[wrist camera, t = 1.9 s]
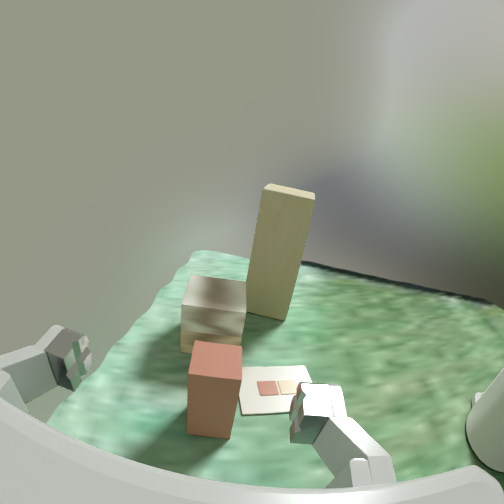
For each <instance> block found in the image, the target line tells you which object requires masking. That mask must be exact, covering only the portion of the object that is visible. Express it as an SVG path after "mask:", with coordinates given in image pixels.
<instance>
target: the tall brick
mask: <svg viewBox="0 0 504 504" xmlns="http://www.w3.org/2000/svg"><path fill="white" fill-rule="evenodd" d="M241 382H242V346H236V345H227V344H219V343H211V342H204V341H197V340H195V342H194V347H193V352H192V357H191V362H190V367H189V372H188V404H187V434H191V435H198V436H206V437H215V438H224V439H230V435H231V430H232V426H233V421H234V416H235V411H236V407H237V402H238V397H239V392H240V387H241Z"/></svg>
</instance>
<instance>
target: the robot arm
mask: <svg viewBox="0 0 504 504" xmlns="http://www.w3.org/2000/svg"><path fill="white" fill-rule="evenodd" d="M88 344H89V342H88V338H87V336H85V335H83V334H80V333H78V332H75V331H72V330H70V329H67V328H64V327H62V326H59V325H54V326H52V327H51V328H50V330H48V331H47V332H46V334H45V335H44V336H43V337H42V338H41V339H40V340H39V341H38V342H37V343H36V344H35V345H34V346H28V347H25V348H22V349H19V350H16V351H13V352H10V353H7V354H4V355H1V356H0V504H504V492H503V489H502V487H501V485H500V483H499V482H498V481H497V480H496V479H495V478H494V477H492V476H491V475H490V474H488V473H487V472H486V471H484V470H483V469H481V468H480V467H478V466H476V465H470V466H465V467H462V468H459V469H455V470H452V471H448V472H444V473H440V474H436V475H431V476H427V477H422V478H417V479H412V480H407V481H401V482H397V480H396V476H395V472H394V468H393V464H392V460H391V456H390V455H389V454H388V453H387V452H386V451H385V450H384V449H383V448H382V447H381V446H380V445H379V444H378V443H377V442H376V441H375V440H374V439H373V438H372V437H371V436H369V435H368V434H367V433H366V432H365V431H364V430H363V429H362V428H361V427H360V426H359V425H358V424H357V423H356V422H355V421H354V420H353V419H352V418H348V417H347V412H346V408H345V403H344V398H343V394H342V390H341V386H340V385H336V384H321V383H309V382H300V383H299V384H298V386H297V388H296V389H297V394H296V395H295V396H293V399H292V401H291V405H290V413H289V419H290V420H291V422H292V425H291V427H290V443H299V444H313V445H312V446H313V447H314V449H315V450H316V452H317V453H318V454H319V456H320V457H321V459H322V460H323V461H324V463H325V464H326V466H327V467H328V468H329V470H330V471H331V472H332V474H333V475H334V477H335V478H334V479H333V480H332V481H331V482H330V483H329V484H328V485H327V486H326V487H325V488H324V489H296V488H274V487H261V486H251V485H242V484H234V483H227V482H221V481H215V480H209V479H204V478H198V477H194V476H189V475H184V474H180V473H176V472H172V471H168V470H164V469H160V468H156V467H153V466H149V465H146V464H143V463H139V462H136V461H133V460H130V459H127V458H124V457H121V456H118V455H115V454H113V453H110V452H107V451H105V450H102V449H99V448H97V447H94V446H92V445H90V444H87V443H85V442H83V441H80V440H78V439H76V438H73V437H71V436H69V435H67V434H65V433H63V432H61V431H59V430H57V429H55V428H53V427H51V426H49V425H47V424H45V423H43V422H41V421H39V420H37V419H35V418H34V417H32V416H30V413H29V411H28V409H27V407H26V406H25V404H26V403H28V402H30V401H32V400H34V399H35V398H37V397H39V396H41V395H43V394H44V393H46V392H48V391H50V390H51V389H53V388H55V387H57V385H59V386H62V387H64V388H66V389H69V390H71V391H74V392H75V390H76V389H77V387H78V386H79V384H80V383H81V375H84V374H86V373H87V372H88V370H89V369H90V365H91V362H92V356H91V352H90V350H89V349H88V348H87V345H88ZM466 431H467V437H468V440H469V443H470V445H471V447H472V449H473V451H474V452H475V454H476V455H477V456H478V458H479V459H480V460H481V461H482V462H483V463H484V464H486V465H487V466H488V467H490V468H492V469H494V470H496V471H500V472H504V368H503V369H502V370H501V372H500V373H499V374H498V376H497V377H496V378H495V379H494V381H493V382H492V383H491V384H490V386H489V387H488V388H487V389H486V390H485V392H479V393H476V394H475V395H474V396H473V397H472V409H471V411H470V413H469V415H468V418H467V422H466Z"/></svg>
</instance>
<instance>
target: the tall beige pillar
mask: <svg viewBox="0 0 504 504" xmlns="http://www.w3.org/2000/svg"><path fill="white" fill-rule="evenodd" d="M314 203H315V194H314V193H311V192H307V191H302V190H298V189H293V188H289V187H284V186H279V185H275V184H268V185H267V186H266V187H265V188H264V189H263V191H262V196H261V202H260V207H259V213H258V218H257V224H256V230H255V235H254V241H253V246H252V252H251V258H250V263H249V269H248V274H247V280H246V311H247V312H250V313H254V314H258V315H262V316H266V317H270V318H275V319H279V320H286V316H287V313H288V309H289V305H290V302H291V298H292V294H293V291H294V287H295V283H296V279H297V275H298V271H299V267H300V263H301V259H302V255H303V251H304V247H305V242H306V238H307V234H308V230H309V226H310V222H311V217H312V213H313V208H314Z"/></svg>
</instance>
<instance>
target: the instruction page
mask: <svg viewBox="0 0 504 504" xmlns="http://www.w3.org/2000/svg"><path fill="white" fill-rule="evenodd" d="M300 382H309V383H312V381H311V379H310V377H309V374H308V372H307V369H306V367H305V365H301V366H274V367H242V382H241V387H240V392H239V399H240V405H241V410H242V415H254V414H273V413H286V412H290V405H291V401H292V399H293V396H295V395H296V394H297V389H296V388H297V386H298V384H299V383H300Z"/></svg>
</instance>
